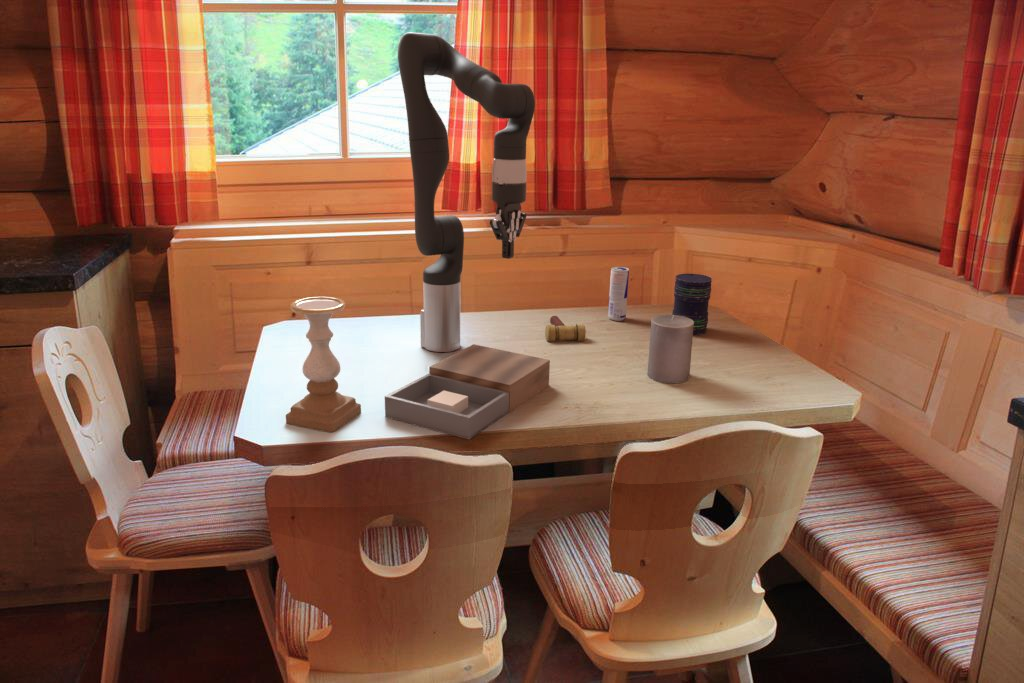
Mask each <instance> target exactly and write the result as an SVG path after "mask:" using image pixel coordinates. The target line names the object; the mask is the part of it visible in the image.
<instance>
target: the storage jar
mask: <svg viewBox="0 0 1024 683" xmlns="http://www.w3.org/2000/svg"><path fill="white" fill-rule="evenodd" d="M712 281H713V279H712V277H710V276H708V275H704V274H699V273H679V274H677V275H675V281H674V282H675V283H674V288H673V290H674V291H673V297H674V302H673V309H672V314H671V315H678V316H684V317H687V318H690V319H691V320H693V322H694V327H693V337H694V336H695V337H696V336H697V337H698V336H702V335H705V334H706V333H707V328H708V323H709V303H710V299H711V292H712Z"/></svg>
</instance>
